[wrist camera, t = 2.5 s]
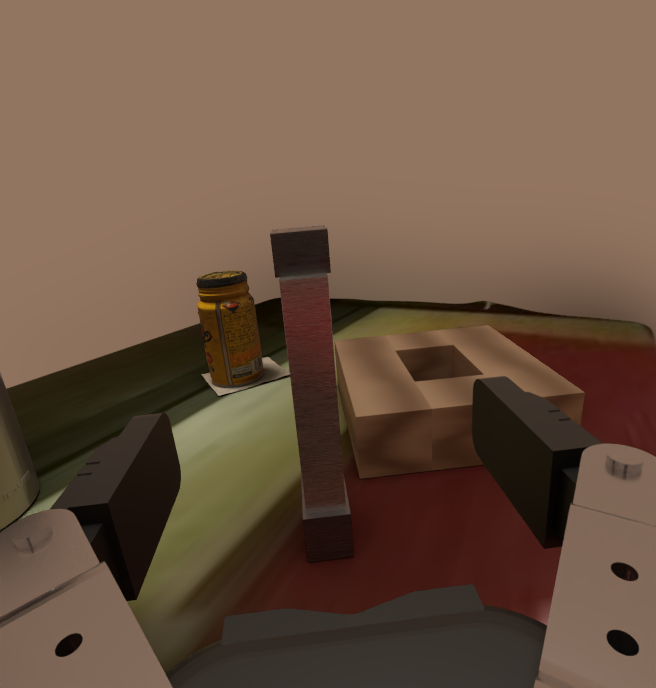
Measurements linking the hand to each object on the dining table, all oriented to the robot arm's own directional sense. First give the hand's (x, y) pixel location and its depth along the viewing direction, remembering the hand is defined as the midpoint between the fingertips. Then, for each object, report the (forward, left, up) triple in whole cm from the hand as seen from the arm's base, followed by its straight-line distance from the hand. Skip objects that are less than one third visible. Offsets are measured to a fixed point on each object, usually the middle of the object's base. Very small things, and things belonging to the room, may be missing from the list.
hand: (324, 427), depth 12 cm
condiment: (-17, +34, -14) cm, 41 cm away
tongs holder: (+4, +26, -14) cm, 30 cm away
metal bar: (-3, +11, -14) cm, 18 cm away
